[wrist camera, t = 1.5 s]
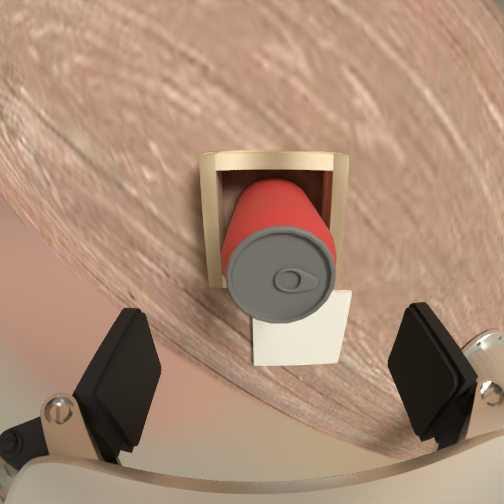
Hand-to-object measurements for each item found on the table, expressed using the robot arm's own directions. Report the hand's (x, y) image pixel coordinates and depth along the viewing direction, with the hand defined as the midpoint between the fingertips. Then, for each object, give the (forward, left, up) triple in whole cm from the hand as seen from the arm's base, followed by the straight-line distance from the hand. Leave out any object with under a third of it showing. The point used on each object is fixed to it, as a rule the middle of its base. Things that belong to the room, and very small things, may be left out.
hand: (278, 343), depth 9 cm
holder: (0, 0, -17) cm, 17 cm away
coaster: (-3, +13, -17) cm, 22 cm away
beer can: (0, 0, -17) cm, 17 cm away
